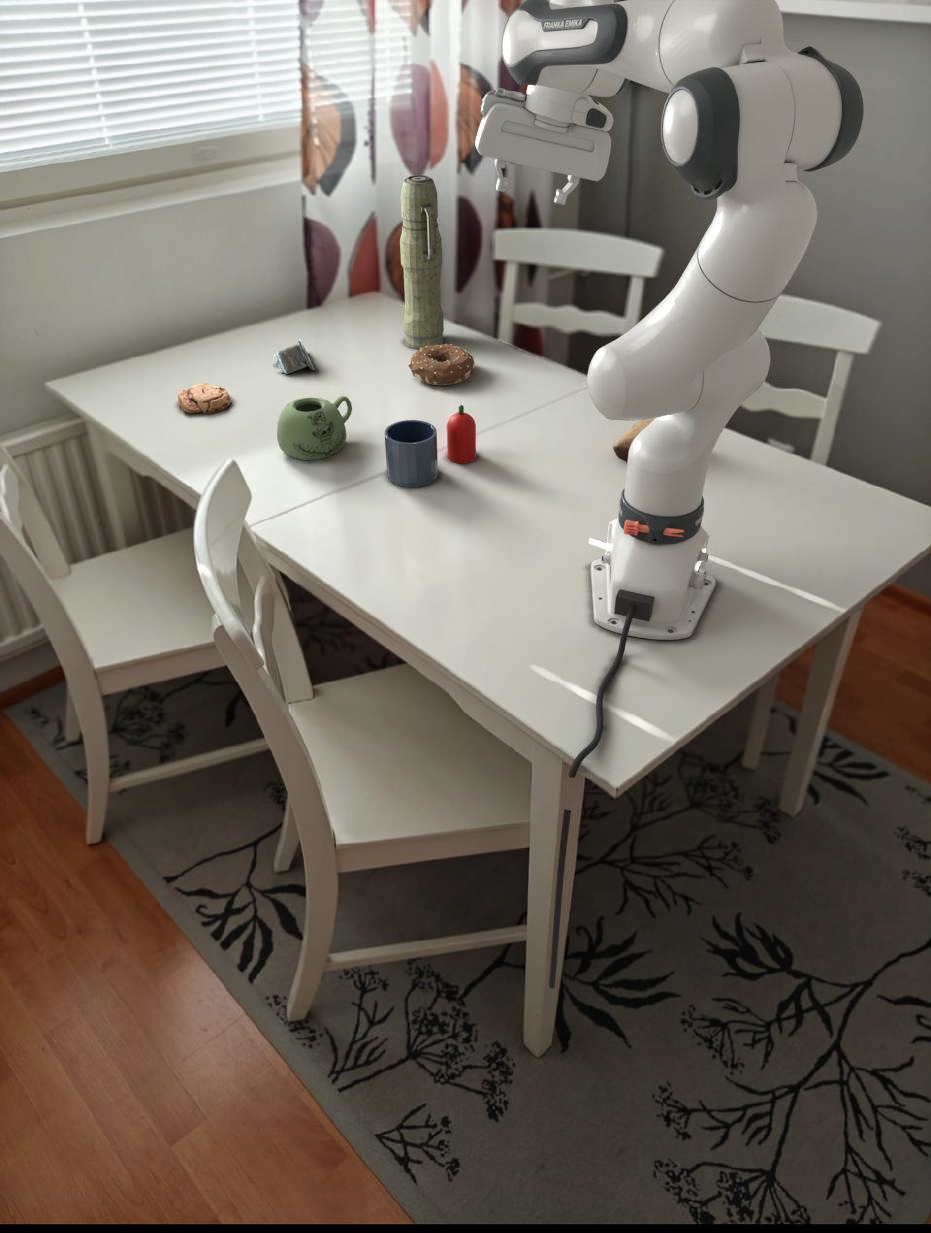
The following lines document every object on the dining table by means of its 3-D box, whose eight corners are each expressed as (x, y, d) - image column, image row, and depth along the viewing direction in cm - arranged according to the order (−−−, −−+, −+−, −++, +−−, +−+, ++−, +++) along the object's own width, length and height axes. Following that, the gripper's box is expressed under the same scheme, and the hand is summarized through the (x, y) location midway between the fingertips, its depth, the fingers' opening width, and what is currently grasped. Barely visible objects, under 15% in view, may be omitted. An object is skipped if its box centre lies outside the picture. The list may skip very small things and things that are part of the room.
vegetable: (645, 469, 172) (634, 411, 170) (606, 473, 182) (596, 418, 180) (712, 450, 179) (703, 395, 177) (671, 455, 189) (662, 402, 187)
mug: (305, 471, 179) (300, 427, 173) (264, 447, 186) (258, 404, 181) (374, 442, 187) (371, 399, 182) (332, 420, 195) (328, 378, 189)
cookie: (226, 414, 197) (223, 400, 195) (172, 414, 197) (169, 400, 195) (236, 393, 205) (234, 379, 203) (185, 392, 205) (182, 379, 203)
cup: (429, 490, 173) (428, 446, 168) (380, 484, 175) (377, 440, 170) (443, 465, 180) (442, 422, 175) (396, 459, 182) (393, 417, 177)
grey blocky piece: (273, 356, 220) (263, 335, 208) (303, 344, 221) (294, 322, 209) (290, 394, 219) (281, 375, 208) (320, 382, 220) (312, 362, 208)
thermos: (427, 329, 231) (421, 168, 210) (454, 345, 223) (452, 180, 202) (394, 337, 227) (385, 174, 206) (421, 354, 220) (414, 187, 198)
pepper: (471, 464, 180) (471, 413, 174) (444, 461, 181) (443, 409, 175) (478, 451, 184) (478, 400, 178) (451, 448, 185) (450, 397, 179)
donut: (412, 362, 217) (411, 340, 213) (475, 362, 216) (475, 340, 213) (406, 390, 205) (405, 367, 202) (473, 391, 205) (473, 368, 202)
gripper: (489, 89, 141) (466, 189, 150) (624, 121, 145) (595, 216, 154) (484, 79, 146) (463, 176, 154) (615, 110, 150) (587, 203, 159)
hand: (530, 196), depth 154 cm, fingers open, 8 cm apart
